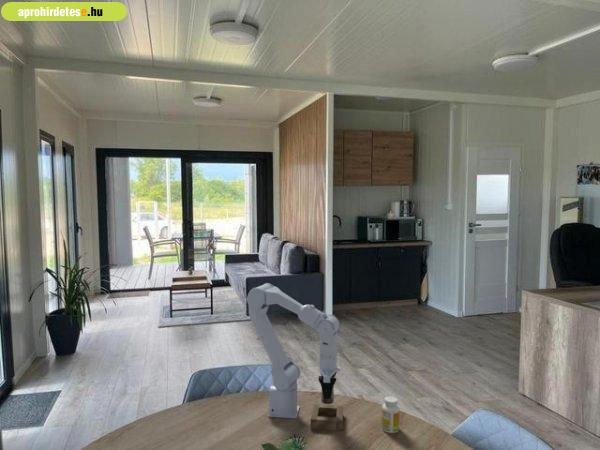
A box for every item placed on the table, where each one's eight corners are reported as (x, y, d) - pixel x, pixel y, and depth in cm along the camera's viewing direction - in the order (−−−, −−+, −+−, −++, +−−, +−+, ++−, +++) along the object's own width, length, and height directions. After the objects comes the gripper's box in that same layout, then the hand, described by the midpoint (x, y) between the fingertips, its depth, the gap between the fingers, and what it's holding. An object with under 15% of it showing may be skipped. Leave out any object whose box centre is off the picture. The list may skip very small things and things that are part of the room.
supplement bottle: (397, 425, 137) (398, 395, 136) (400, 434, 132) (400, 403, 131) (380, 424, 138) (381, 394, 137) (382, 433, 132) (383, 402, 132)
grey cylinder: (320, 403, 137) (321, 379, 136) (321, 397, 141) (321, 374, 140) (333, 404, 136) (333, 379, 136) (333, 398, 140) (334, 374, 140)
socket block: (310, 428, 134) (310, 419, 134) (313, 412, 144) (313, 404, 144) (342, 430, 133) (342, 421, 133) (342, 414, 143) (343, 405, 143)
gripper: (340, 363, 130) (339, 406, 131) (341, 346, 144) (340, 386, 145) (316, 362, 131) (316, 405, 131) (320, 345, 145) (319, 384, 146)
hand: (327, 395), depth 138 cm, fingers closed on grey cylinder, 4 cm apart
